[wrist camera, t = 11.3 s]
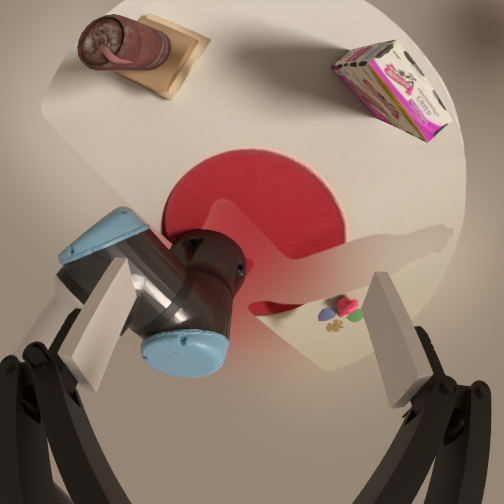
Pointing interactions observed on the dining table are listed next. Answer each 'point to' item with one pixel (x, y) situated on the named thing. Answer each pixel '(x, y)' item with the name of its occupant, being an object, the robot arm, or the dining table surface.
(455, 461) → the robot arm
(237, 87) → the dining table surface
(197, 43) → the stand
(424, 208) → the dining table surface
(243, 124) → the dining table surface
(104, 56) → the can
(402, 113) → the candy bar box
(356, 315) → the toy pieces
